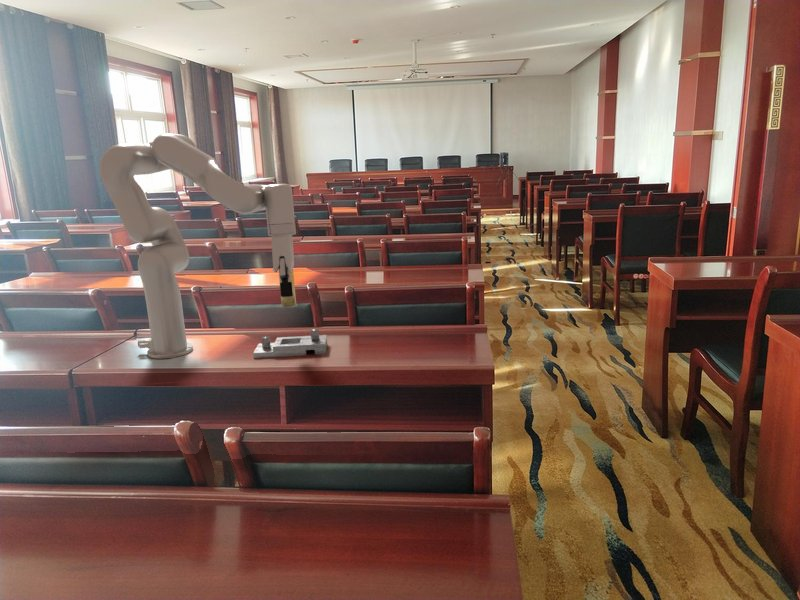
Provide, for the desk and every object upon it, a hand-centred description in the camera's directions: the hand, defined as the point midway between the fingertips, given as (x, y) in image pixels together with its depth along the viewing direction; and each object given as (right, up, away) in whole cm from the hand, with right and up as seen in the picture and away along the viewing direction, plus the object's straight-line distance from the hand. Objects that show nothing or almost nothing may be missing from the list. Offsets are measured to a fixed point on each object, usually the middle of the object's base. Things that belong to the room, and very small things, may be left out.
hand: (287, 293), depth 169 cm
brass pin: (0, -3, +1) cm, 3 cm away
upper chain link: (+3, -16, +4) cm, 17 cm away
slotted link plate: (-2, -17, +4) cm, 17 cm away
